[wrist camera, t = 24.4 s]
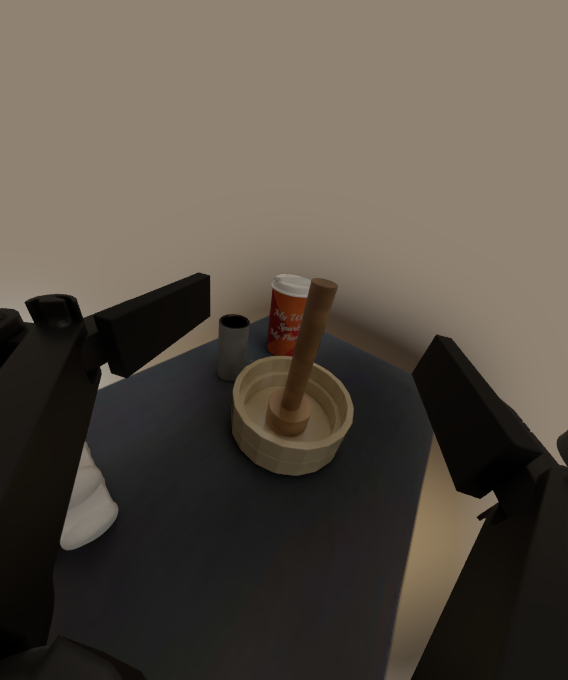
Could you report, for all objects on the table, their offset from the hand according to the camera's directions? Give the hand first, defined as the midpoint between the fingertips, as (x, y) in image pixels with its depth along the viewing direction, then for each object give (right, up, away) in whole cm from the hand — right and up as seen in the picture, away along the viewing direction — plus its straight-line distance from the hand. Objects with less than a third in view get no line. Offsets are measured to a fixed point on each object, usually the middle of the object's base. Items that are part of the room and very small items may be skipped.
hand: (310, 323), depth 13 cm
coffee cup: (-2, -3, +35) cm, 35 cm away
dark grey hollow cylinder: (-11, -7, +26) cm, 29 cm away
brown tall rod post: (-1, -12, +19) cm, 22 cm away
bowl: (-1, -13, +19) cm, 23 cm away
